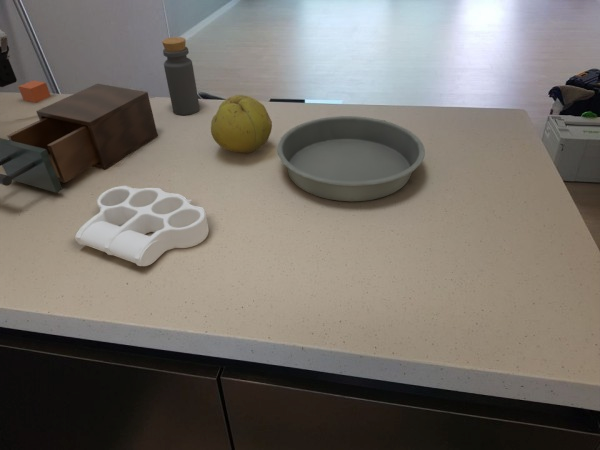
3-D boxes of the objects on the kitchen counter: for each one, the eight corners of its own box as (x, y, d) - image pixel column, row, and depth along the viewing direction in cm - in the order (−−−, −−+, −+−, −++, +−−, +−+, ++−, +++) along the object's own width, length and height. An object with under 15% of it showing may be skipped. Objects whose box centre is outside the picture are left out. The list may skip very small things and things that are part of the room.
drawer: (26, 212, 69) (6, 170, 65) (-24, 196, 73) (-45, 155, 69) (116, 155, 83) (104, 118, 79) (70, 144, 87) (57, 108, 83)
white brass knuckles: (63, 243, 64) (135, 191, 75) (163, 280, 58) (227, 218, 68) (55, 224, 62) (130, 173, 73) (157, 260, 56) (224, 199, 66)
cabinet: (105, 170, 81) (89, 122, 75) (54, 157, 85) (35, 111, 80) (158, 136, 91) (147, 91, 86) (110, 126, 96) (97, 83, 90)
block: (37, 106, 105) (30, 88, 103) (24, 103, 107) (17, 86, 104) (52, 99, 108) (45, 82, 106) (39, 97, 110) (33, 80, 107)
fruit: (283, 140, 88) (280, 90, 82) (257, 169, 80) (252, 115, 73) (232, 132, 92) (226, 84, 86) (202, 159, 83) (193, 107, 77)
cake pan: (449, 192, 72) (454, 167, 70) (301, 221, 67) (300, 195, 64) (384, 128, 91) (386, 107, 89) (264, 147, 86) (262, 125, 83)
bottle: (168, 114, 100) (153, 43, 91) (180, 104, 104) (167, 35, 95) (193, 116, 99) (180, 44, 89) (204, 106, 103) (193, 36, 94)
